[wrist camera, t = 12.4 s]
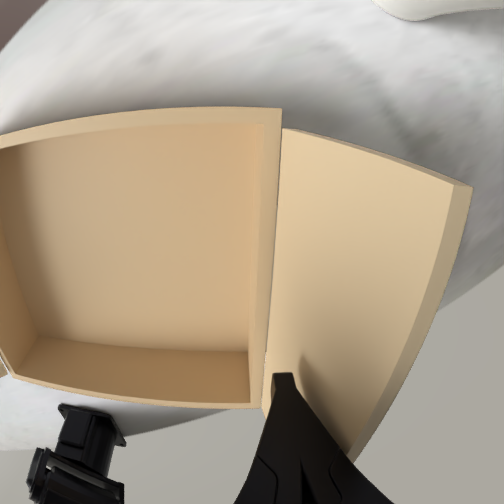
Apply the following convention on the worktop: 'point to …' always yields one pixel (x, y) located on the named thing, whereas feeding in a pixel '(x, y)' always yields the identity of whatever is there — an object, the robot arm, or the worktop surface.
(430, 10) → the drinking glass
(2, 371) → the flap
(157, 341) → the carton
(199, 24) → the worktop surface
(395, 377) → the flap
